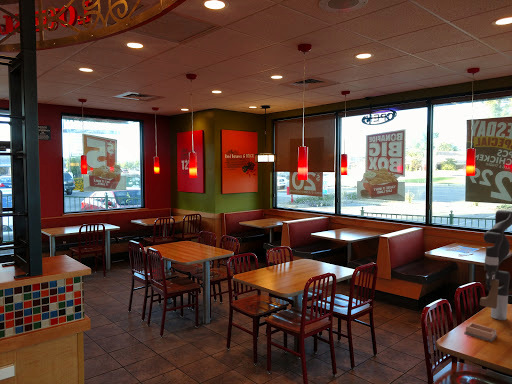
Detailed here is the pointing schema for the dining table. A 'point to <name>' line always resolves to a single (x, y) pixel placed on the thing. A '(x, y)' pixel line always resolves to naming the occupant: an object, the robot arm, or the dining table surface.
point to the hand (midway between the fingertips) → (489, 289)
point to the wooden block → (491, 295)
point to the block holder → (481, 332)
